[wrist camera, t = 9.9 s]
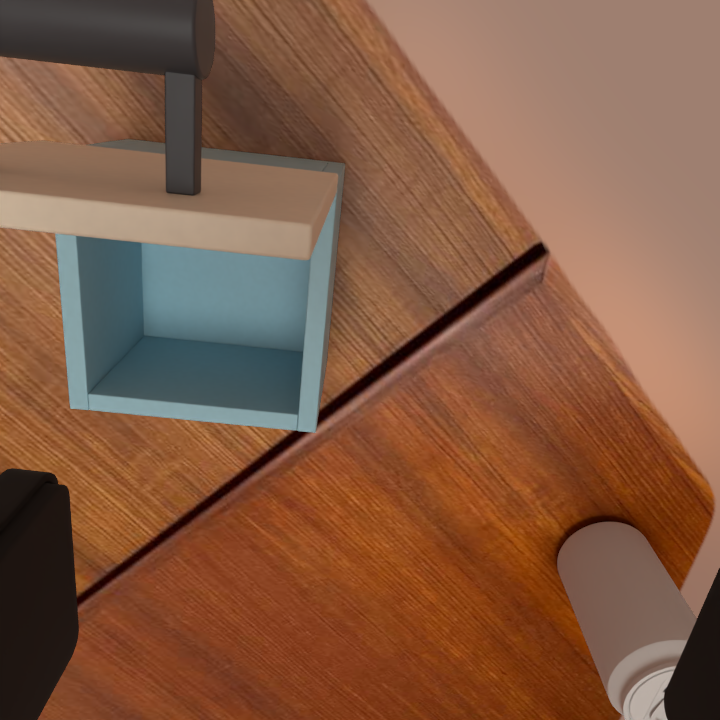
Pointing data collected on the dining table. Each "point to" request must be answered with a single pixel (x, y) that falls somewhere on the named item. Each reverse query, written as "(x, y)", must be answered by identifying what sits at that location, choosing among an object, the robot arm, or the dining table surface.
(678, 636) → the beverage can
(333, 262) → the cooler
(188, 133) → the lid
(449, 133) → the dining table surface
